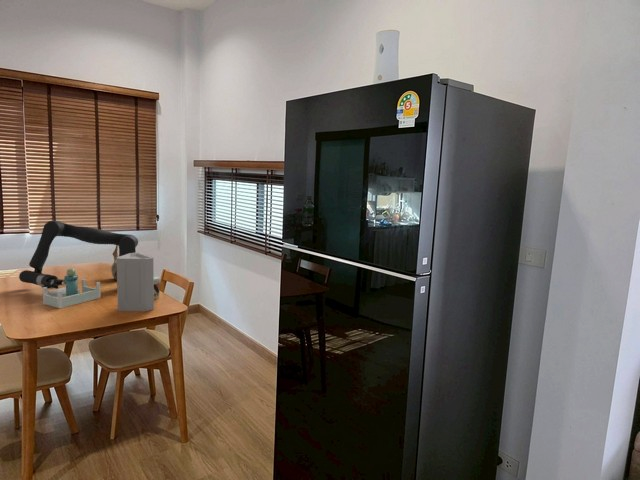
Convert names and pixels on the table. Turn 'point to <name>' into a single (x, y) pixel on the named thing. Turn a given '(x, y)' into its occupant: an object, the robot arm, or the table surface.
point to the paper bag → (135, 282)
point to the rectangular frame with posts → (72, 296)
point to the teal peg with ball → (71, 282)
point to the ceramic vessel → (115, 263)
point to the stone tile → (54, 292)
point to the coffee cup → (156, 287)
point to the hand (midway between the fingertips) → (65, 285)
